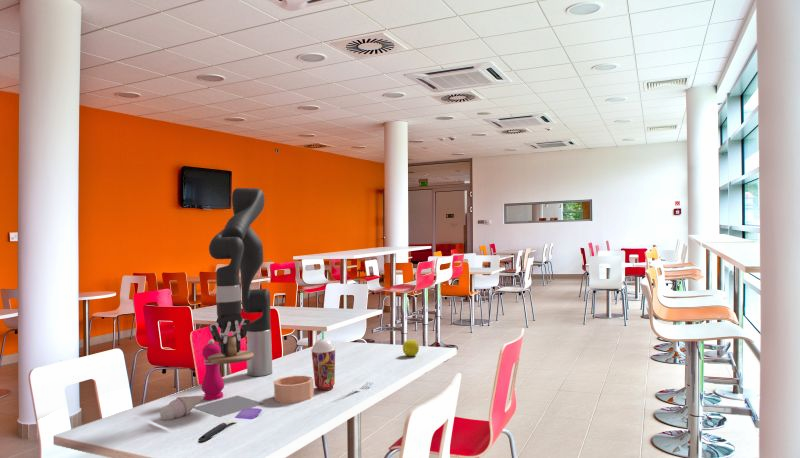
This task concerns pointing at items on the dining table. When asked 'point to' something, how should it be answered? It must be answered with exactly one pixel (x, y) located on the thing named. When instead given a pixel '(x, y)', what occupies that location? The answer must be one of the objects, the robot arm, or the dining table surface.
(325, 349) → the smoothie
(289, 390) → the bowl
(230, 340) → the lid
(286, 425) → the dining table surface
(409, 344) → the tennis ball
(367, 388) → the fork
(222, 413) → the mat
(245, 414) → the spatula
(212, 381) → the pepper mill
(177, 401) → the ice cream cone
